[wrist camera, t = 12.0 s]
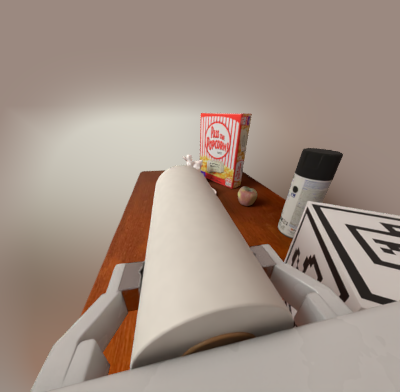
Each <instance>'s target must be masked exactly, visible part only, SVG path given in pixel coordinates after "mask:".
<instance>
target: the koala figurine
mask: <svg viewBox="0 0 400 392" xmlns="http://www.w3.org/2000/svg"><path fill="white" fill-rule="evenodd" d="M183 158H184V159H185V160H186V161H187V163H186V164H187V166H191V167H194V168H196V169H197V170H199V171H200V172H201V169H200V168H201V165H202V163H203V160H200V161H192V157H191V155H187V156H186V157H184V156H183Z"/></svg>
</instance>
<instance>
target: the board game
mask: <svg viewBox="0 0 400 392" xmlns="http://www.w3.org/2000/svg"><path fill="white" fill-rule="evenodd" d="M251 115H252V114H213V113H201V133H200V160H203V163H202V165H201V168H200V169H201V173H202V174H203V175H204V177H205V178H207V179H210V180H212V181H214V182H217V183H219V184H221V185H224V186H226V187H228V188H231V189H233V188H236V187H238V186H240V184H241V177H242V171H243V164H244V158H245V151H246V145H247V139H248V132H249V127H250V121H251Z"/></svg>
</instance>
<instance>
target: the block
mask: <svg viewBox="0 0 400 392" xmlns="http://www.w3.org/2000/svg"><path fill="white" fill-rule="evenodd" d="M284 263H285V264H286V263H287V264H289V265H291V266H292V267H294V268H296V269H298V270H299V271H301V272H303V273H305V274H307V275H308V276H310V277H312V278H314V279H315V280H317V281H319V282H321V283H323V284H324V285H326V286H328V287H330V288H331V289H332V290H333V291H334V292H335V293H336V295H337V296H338V297H339V298H340V299H341V300H342V301H343V302H344V303H345V304H346V305H347V306H348V307H349V308H350V309H351V310H352V311H353V312H357V311H361V310H365V309H369V308H373V307H377V306H380V305H384V304H388V303H392V302H396V301H400V216H397V215H391V214H384V213H379V212H373V211H367V210H361V209H355V208H348V207H343V206H336V205H330V204H324V203H318V202H312V201H307V204H306V207H305V209H304V212H303V214H302V217H301V220H300V222H299V225H298V227H297V230H296V233H295V235H294V238H293V240H292V243H291V246H290V248H289V251H288V253H287V256H286V259H285V261H284ZM284 303H285V304H286V306H287V307H288V309H289V311H290V312H291V314H292V316H293V320H294V316H295V315H296V313H297V310H296V309H294V308H293V307H292V306H291V305H290V304H289V303H287V302H286V301H285V300H284ZM295 327H298V326H297V325H296V323H295V322H294V326H293V328H295Z"/></svg>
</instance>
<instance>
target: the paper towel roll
mask: <svg viewBox="0 0 400 392" xmlns="http://www.w3.org/2000/svg"><path fill="white" fill-rule="evenodd" d="M293 326H294V320H293V316H292V314H291V312H290V311H289V309H288V307H287V306H286V304H285V303H284V301H283V300H282V298H281V296H280V295H279V293H278V292H277V290H276V289H275V287H274V285H273V284H272V282H271V281H270V279H269V278H268V276H267V274H266V273H265V271H264V270H263V268H262V266H261V265H260V263H259V262H258V260H257V259H256V257H255V255H254V254H253V252H252V251H251V249H250V248H249V246H248V244H247V243H246V241H245V240H244V238H243V237H242V235H241V233H240V232H239V230H238V229H237V227H236V226H235V224H234V222H233V221H232V219H231V218H230V216H229V214H228V213H227V211H226V210H225V208H224V207H223V205H222V203H221V202H220V200H219V199H218V197H217V196H216V194H215V192H214V191H213V189H212V188H211V186H210V185H209V183H208V181H207V180H206V178H205V177H204V175H203V174H202V173H201V172H200V171H199V170H197V169H196V168H194V167H191V166H187V165H179V166H174V167H171V168H169V169H167V170H166V171H164V172H163V173H162V174H161V176H160V177H159V178H158V180H157V183H156V187H155V194H154V202H153V209H152V216H151V223H150V230H149V237H148V244H147V251H146V258H145V265H144V272H143V279H142V286H141V293H140V300H139V307H138V314H137V321H136V328H135V335H134V342H133V349H132V357H131V364H130V370H131V369H135V368H138V367H142V366H146V365H150V364H154V363H158V362H162V361H166V360H170V359H174V358H177V357H181V356H185V355H189V354H193V353H197V352H201V351H205V350H209V349H213V348H216V347H220V346H224V345H228V344H232V343H236V342H240V341H244V340H248V339H252V338H256V337H259V336H263V335H267V334H271V333H275V332H279V331H283V330H287V329H291V328H293Z"/></svg>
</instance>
